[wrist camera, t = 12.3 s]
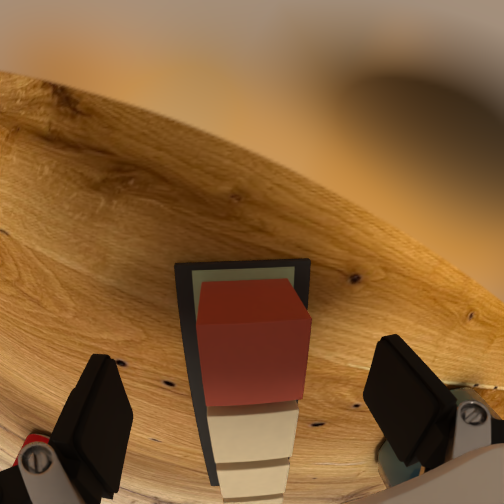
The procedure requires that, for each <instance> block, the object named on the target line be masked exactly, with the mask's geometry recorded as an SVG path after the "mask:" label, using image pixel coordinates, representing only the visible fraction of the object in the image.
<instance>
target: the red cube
mask: <svg viewBox="0 0 504 504" xmlns="http://www.w3.org/2000/svg"><path fill="white" fill-rule="evenodd" d="M311 323H312V318H311V316H310V315H309V313H308V311H307V310H306V308H305V306H304V305H303V303H302V301H301V300H300V298H299V296H298V295H297V293H296V291H295V290H294V288H293V287H292V285H291V283H290V282H289V280H288V278H283V279H261V280H238V281H210V282H202V283H201V291H200V298H199V306H198V313H197V321H196V330H197V340H198V348H199V357H200V365H201V373H202V381H203V388H204V395H205V402H206V406H234V405H250V404H263V403H273V402H283V401H291V400H299V399H302V398H303V391H304V384H305V376H306V368H307V360H308V351H309V342H310V333H311Z"/></svg>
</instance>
